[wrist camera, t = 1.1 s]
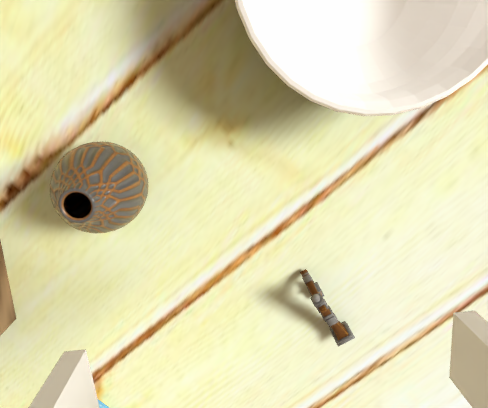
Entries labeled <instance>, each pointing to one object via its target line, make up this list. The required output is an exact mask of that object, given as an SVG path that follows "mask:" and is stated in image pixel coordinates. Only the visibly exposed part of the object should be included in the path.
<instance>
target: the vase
mask: <svg viewBox="0 0 488 408" xmlns="http://www.w3.org/2000/svg"><path fill="white" fill-rule="evenodd" d="M147 194H148V178H147V174H146V171H145V169H144V167H143V165H142V163H141V162H140V160H139V159H138V158H137V157H136V156H135V155H134V154H133V153H132V152H131V151H129V150H128V149H126V148H124V147H122V146H120V145H117V144H114V143H110V142H92V143H87V144H84V145H81V146H79V147H77V148H75V149H73V150H71V151H70V152H69V153H67V154H66V155H65V156H64V157H63V158H62V159H61V160H60V162H59V163H58V164H57V166H56V168H55V170H54V172H53V174H52V178H51V182H50V196H51V200H52V203H53V206H54V208H55V210H56V211H57V213H58V214H59V216H60V217H61V218H62V219H63V220H64V221H65V222H66V223H68V224H69V225H71V226H72V227H74V228H76V229H78V230H81V231H84V232H89V233H106V232H111V231H114V230H117V229H119V228H122V227H123V226H125V225H127V224H128V223H130V222H131V221H132V220H133V219H134V218H135V217H136V216H137V215H138V214H139V212H140V211H141V209H142V207H143V206H144V203H145V201H146V198H147Z"/></svg>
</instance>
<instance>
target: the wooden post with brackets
mask: <svg viewBox="0 0 488 408" xmlns="http://www.w3.org/2000/svg"><path fill="white" fill-rule="evenodd" d="M300 273H301V275H302V277H303V280H304V282H305V284H306V286H307V288H308V290H309V292H310V294H311V296H312V297H311V300H312V302H313V304H314V306H315V307H316V308H317V310H318V311H319V313H321V315H322V317H323V319H324V321H325V322H327V324H328V325H329V327H330V326H331V327H332V329H330V331H331V333H332V335H333V337H334V339H335V341H336V343H337V345H338V346H340V345H342V344H344V343H346V342H348V341H350V340H352V339H354V338H355V337H354V335H353V333H352V332H351V330H350V328H349V326H348V324H347V323H346V322H343V323H340V322H339V321H338V320H337V318H336V316H335V314H334V313H333V312H332V310H331V308H330V307H329V306H328V305H327V303H326V301H325V300H324V299H323V296H324V294H323V292H322V291H321V289H320V287H319V285H318V283H317V282H316V283H314V281H313V279H312V278H311V276H310V275H309V273H308V271H307V270H306V269H305V270H304V271H302V272H300Z"/></svg>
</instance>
